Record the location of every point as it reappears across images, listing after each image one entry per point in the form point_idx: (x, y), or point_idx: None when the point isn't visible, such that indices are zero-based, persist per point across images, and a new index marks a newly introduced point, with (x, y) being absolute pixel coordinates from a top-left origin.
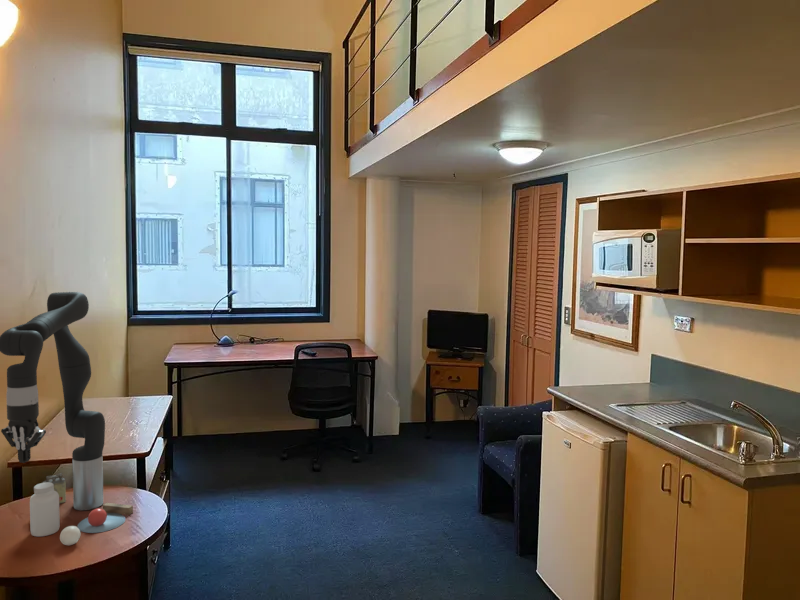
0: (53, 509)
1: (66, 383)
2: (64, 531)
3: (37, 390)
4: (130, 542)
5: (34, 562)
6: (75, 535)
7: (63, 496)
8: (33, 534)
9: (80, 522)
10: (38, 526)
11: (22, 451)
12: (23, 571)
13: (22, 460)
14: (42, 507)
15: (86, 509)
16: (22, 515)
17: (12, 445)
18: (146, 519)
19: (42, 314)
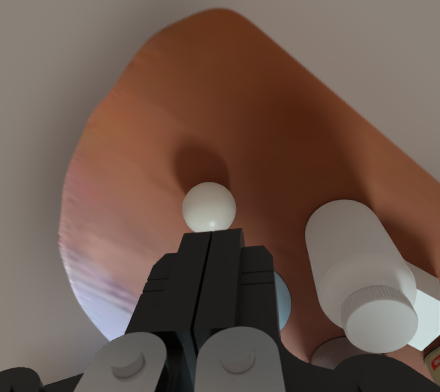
0: (314, 268)
1: None
2: (208, 201)
3: None
4: (83, 250)
5: (216, 89)
6: (182, 206)
7: (432, 372)
8: (349, 200)
9: (285, 289)
10: (335, 214)
11: (167, 319)
12: (200, 38)
13: (192, 241)
14: (334, 252)
15: (327, 342)
16: None
17: (359, 375)
18: None
19: None
